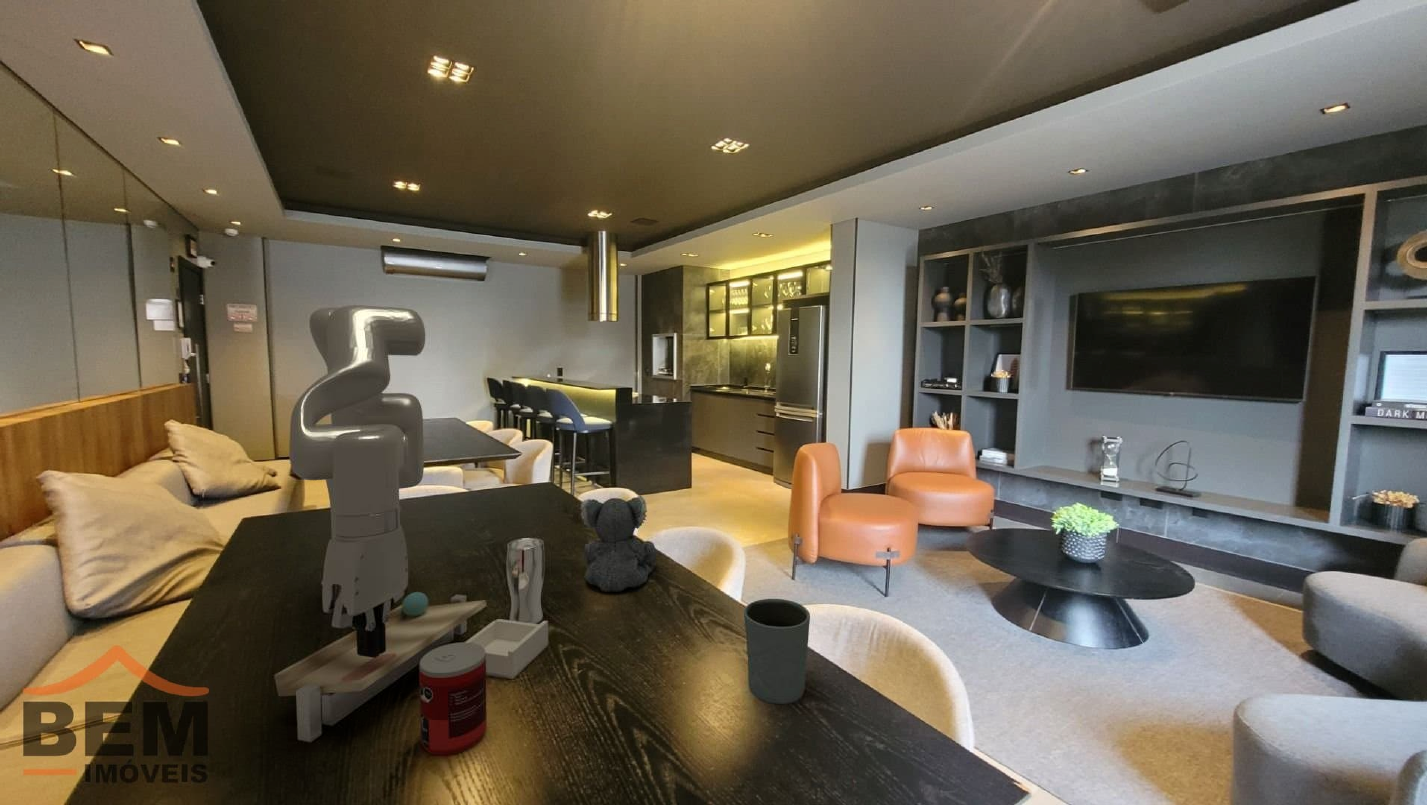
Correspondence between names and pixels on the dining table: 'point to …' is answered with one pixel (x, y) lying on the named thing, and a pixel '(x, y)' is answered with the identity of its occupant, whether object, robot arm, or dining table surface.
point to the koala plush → (617, 544)
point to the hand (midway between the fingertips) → (371, 653)
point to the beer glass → (525, 579)
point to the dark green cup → (776, 649)
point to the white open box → (511, 645)
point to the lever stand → (346, 702)
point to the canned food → (452, 697)
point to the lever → (352, 672)
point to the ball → (415, 604)
